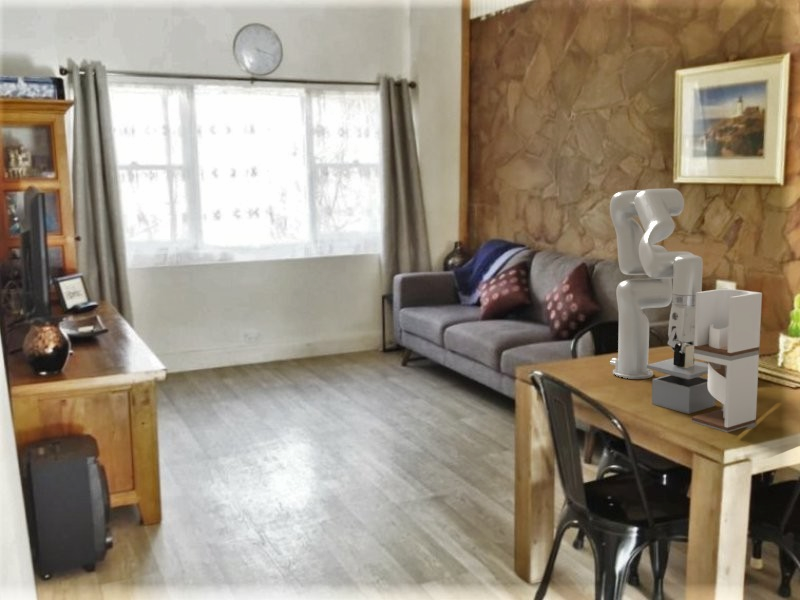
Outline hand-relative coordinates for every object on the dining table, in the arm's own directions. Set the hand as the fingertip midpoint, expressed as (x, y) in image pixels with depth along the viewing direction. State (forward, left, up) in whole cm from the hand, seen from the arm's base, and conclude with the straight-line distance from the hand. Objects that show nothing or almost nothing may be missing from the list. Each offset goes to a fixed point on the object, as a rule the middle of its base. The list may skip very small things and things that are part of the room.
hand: (683, 364), depth 214 cm
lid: (0, 0, -2) cm, 2 cm away
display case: (+16, -6, -13) cm, 22 cm away
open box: (0, 0, -12) cm, 12 cm away
